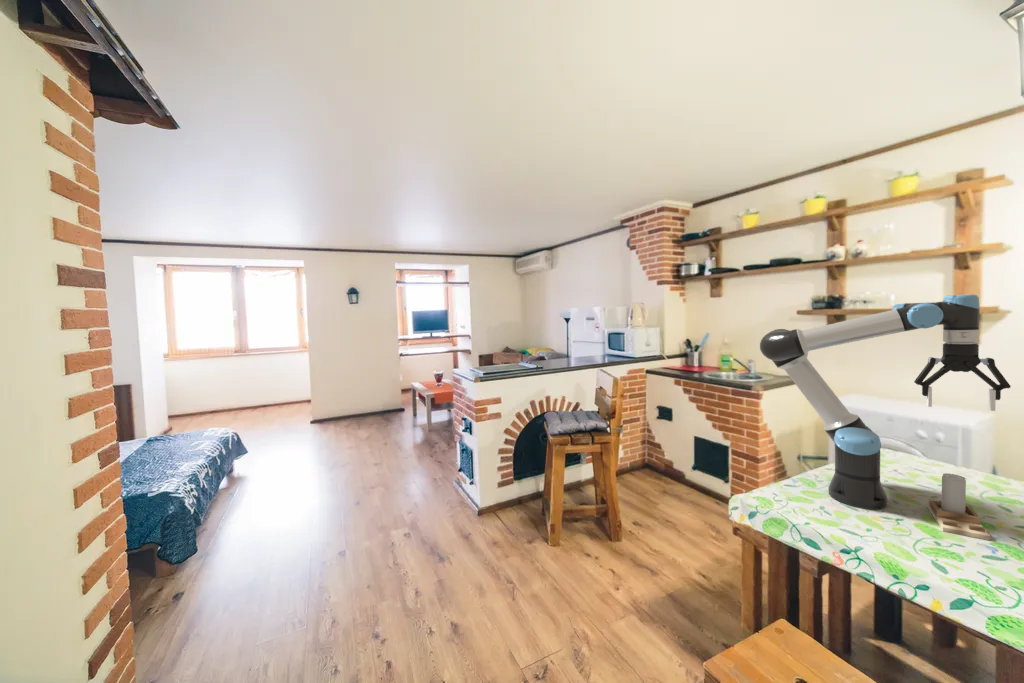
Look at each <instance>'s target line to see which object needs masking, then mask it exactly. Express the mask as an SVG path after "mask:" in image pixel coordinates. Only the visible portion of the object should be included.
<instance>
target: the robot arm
mask: <svg viewBox="0 0 1024 683" xmlns="http://www.w3.org/2000/svg"><path fill="white" fill-rule="evenodd" d="M980 310H981V308H980V297H979V296H978V295H976V294H972V293H971V294H958V295H957V294H956V295H955V294H954V295H946V296H944V297H943V300H942V301H937V302H911V303H910V302H909V303H906V302H905V303H897V304H896V303H895V304H894V305H893V306H892V308H891V310H887V311H882V312H877V313H874V314H870V315H865V316H861V317H857V318H856V317H855V318H852V319H851V318H850V319H847V320H842V321H839V322H838V321H837V322H834V323H830V324H825V325H821V326H818V327H813V328H808V329H805V330H801V329H799V328H796V329H791V330H789V329H786V328H777V329H774V330H772V331H770V332H768V333H767V334H765V335H764V336H763V337H762V338H761V340H760V342H759V350H760V352H761V354H762V355H763V356H764V357H765V358H767V359H768V360H771V361H772V362H773V364H774V365H775V366H776V368H778V369H781V370H784V371H785V373H786V374H787V375H788V376H789V377H790V379H791V380H792V381H793V383H794V384H795V385H796V387H797V389H799V391H800V392H801V394H802V395H803V396H804V397H805V399H806V400H807V401H808V402H809V404H810V405H811V406H812V408H813V409H814V410H815V412H816V413H817V414H818V416H819V418H821V419H822V421H823V422H824V427H823V430H824V432H826V434H827V435H828V436H829V438H830V439H831V440H832V441H833V443H834V474H833V476H832V479H831V481H830V483H829V485H828V495H829V496H830V497H831V498H832V499H834V500H836V501H838V502H840V503H842V504H845V505H848V506H851V507H852V506H853V507H856V508H861V509H862V508H863V509H871V510H880V509H884V508H886V507H888V497H887V494H886V492H885V489H884V486H883V484H882V483H881V482H882V481H881V449H882V442H881V438H880V436H879V435H878V434H877V433H875V432H874V431H873V430H872V429H871V428H870V427H869V426H867V425H866V424H865V423H864V421H863V420H862V419H861V417H860V416H859V415H858V414H854V413H851V412H850V411H849V410H848V409H847V407H846V406H845V405H844V404H843V402H842V401H841V400H840V399H839V397H838V396H837V395H836V394H835V392H834V391H833V389H832V388H831V387H830V386H829V385H828V383H827V382H826V381H825V380H824V378H823V377H822V376H821V374H820V373H819V371H817V370H816V368H815V367H814V366H813V364H812V363H811V362H810V360H809V359H808V354H809V352H810V351H811V352H812V351H815V350H819V349H825V348H829V347H833V346H839V345H844V344H849V343H853V342H854V343H855V342H859V341H865V340H869V339H873V338H879V337H884V336H887V335H894V334H899V333H904V332H910V331H914V330H919V329H929V328H933V327H935V326H942V341H943V342H944V343H943V344H942V357H941V358H939V357H933V356H930V357H928V359H927V364H926V365H925V366H924V368H923V369H922V370H921V372H920V373H919V374H918V376H916V377H915V380H914V382H913V383H915V384H916V385H917V386H921V394H922V396H923V397H926V403H925V404H926V406H927V407H929V408H932V407H933V406H932V405H933V404H932V403H933V386H931V385H932V384H933V383H936V381H937V380H938V379H940V378H942V377H943V376H944V375H945V374H947V373H949V372H950V371H951V372H957V373H958V372H962V373H969V372H972V373H974V374H975V375H976V376H977V377H979V378H980V379H981V380H982V381H983V382H985V383H986V384H988V385H989V386H990V387H991V388H988V394H987V396H988V398H987V401H988V403H987V405H988V406H987V408H988V410H990V411H992V412H996V403H997V402H996V401H1000V400H1001V395H1002V394H1001V392H1002V390H1004V389H1010V388H1011V387H1012V386H1011V384H1010V383H1009V382H1008V380H1007V379H1006V378H1005V376H1004V375H1003V374H1002V373H1001V371H1000V370H999V369H998V366H996V362H995V359H994V358H991V357H986V358H980V356H979V352H980V351H979V349H980V348H979V346H980V345H979V344H978V343H979V340H980V337H979V336H980V335H979V334H980ZM939 363H941V364H942V365H943V366H941V367H940V368H939V369H938V370H937V371H936V372H934V373H933V374H932V375H931V376H929V377H928V375H929V374H930V373H931V371H932V370H933V369H934V367H935V365H938V364H939ZM981 363H982V364H983V365H985V366H986V367H987V369H988V371H990V372H991V374H992V375H993V377H994V378H995V379H996V381H997V382H998V383H996V382H995V381H994V380H992V379H991V378H990V377H989V376H988V375H986V374H985V373H984V372H983V371H982V370H980V369H979V368H978V367H977V366H979V365H980V364H981ZM927 377H928V378H927ZM926 378H927V379H926Z"/></svg>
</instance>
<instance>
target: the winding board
mask: <svg viewBox="0 0 1024 683" xmlns="http://www.w3.org/2000/svg"><path fill="white" fill-rule="evenodd" d="M928 502H929V503H927V509H928V511H929V512H930V513H931V515H932V517H933V518H934V520H935V522H936V523H937V525H938V526H939V527H940V530H942V532H944V533H945V532H946V533H951V534H954V535H955V534H956V535H961V536H966V537H971V538H976V539H981V540H987V541H991V539H992V538H991V534H989V533H988V531H987V530H986V528H985V527H983V525H982V524H981V517H980V516H979V515H978V514H977V512H975V510H974V509H973V507H971V506H970V505H969V504H967V505H966V504H965V514H959V513H953V512H948V511H942V510H941V509H942V500H938V499H937V500H936V499H931V498H929V500H928Z"/></svg>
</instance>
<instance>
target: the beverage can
mask: <svg viewBox="0 0 1024 683" xmlns="http://www.w3.org/2000/svg"><path fill="white" fill-rule="evenodd" d="M966 488H967V480H966V477H965V476H962V475H958V474H954V473H946V472H945V473H943V474H942V476H941V501H942V509H941V510H942V511H948V512H953V513H959V514H965V505H966V499H967V498H966V494H967V493H966V491H967V490H966Z"/></svg>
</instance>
